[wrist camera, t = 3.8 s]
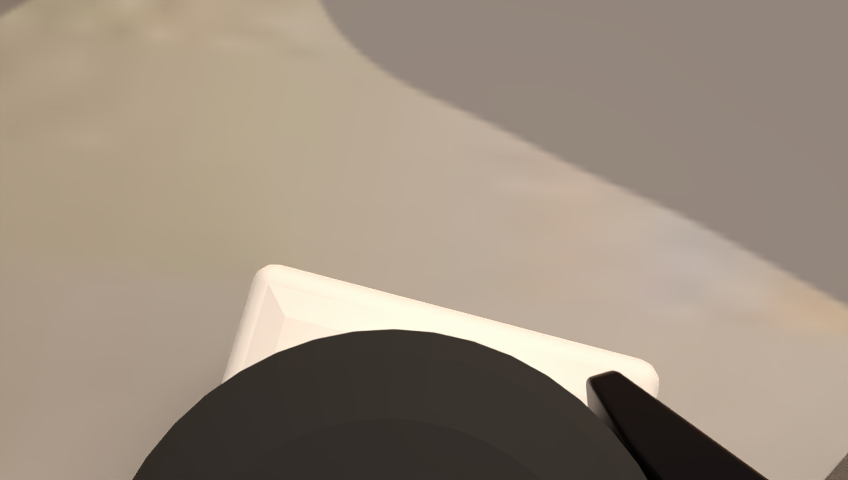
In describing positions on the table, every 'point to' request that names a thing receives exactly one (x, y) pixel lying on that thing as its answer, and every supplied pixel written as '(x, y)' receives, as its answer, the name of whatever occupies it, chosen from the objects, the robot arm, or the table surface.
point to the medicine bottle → (393, 395)
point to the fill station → (840, 471)
